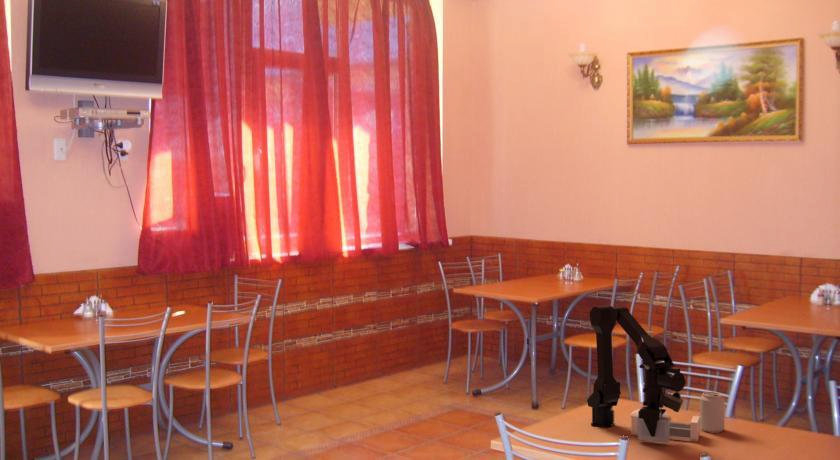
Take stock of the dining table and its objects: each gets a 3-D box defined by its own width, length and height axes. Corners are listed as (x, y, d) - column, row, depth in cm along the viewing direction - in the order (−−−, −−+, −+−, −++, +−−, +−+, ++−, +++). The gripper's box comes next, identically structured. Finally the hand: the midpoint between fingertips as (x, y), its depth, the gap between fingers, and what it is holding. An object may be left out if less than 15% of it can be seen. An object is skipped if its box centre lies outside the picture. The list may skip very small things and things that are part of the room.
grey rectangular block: (637, 439, 256) (638, 417, 256) (639, 436, 259) (639, 414, 259) (668, 443, 252) (668, 420, 252) (669, 440, 255) (669, 417, 255)
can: (726, 434, 265) (726, 396, 264) (701, 433, 266) (701, 395, 265) (722, 427, 272) (722, 391, 271) (698, 426, 273) (698, 390, 273)
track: (631, 434, 265) (631, 416, 265) (636, 428, 272) (636, 409, 272) (697, 442, 257) (697, 422, 256) (700, 434, 264) (700, 416, 264)
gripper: (676, 394, 243) (676, 446, 244) (685, 380, 260) (685, 429, 261) (638, 390, 248) (637, 442, 249) (648, 377, 265) (648, 425, 265)
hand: (653, 434), depth 256 cm, fingers closed on grey rectangular block, 3 cm apart
